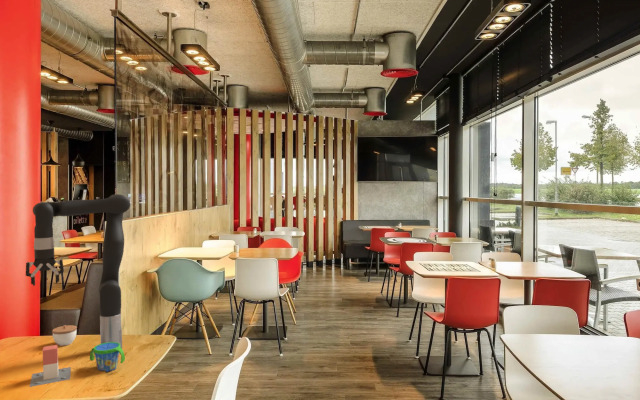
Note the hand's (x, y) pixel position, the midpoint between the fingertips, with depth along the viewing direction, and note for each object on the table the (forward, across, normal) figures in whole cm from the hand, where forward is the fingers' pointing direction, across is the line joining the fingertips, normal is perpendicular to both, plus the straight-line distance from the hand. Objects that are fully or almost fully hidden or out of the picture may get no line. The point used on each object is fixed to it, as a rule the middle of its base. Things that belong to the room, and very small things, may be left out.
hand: (45, 284), depth 198 cm
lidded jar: (+36, -6, -27) cm, 46 cm away
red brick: (+29, -2, +18) cm, 34 cm away
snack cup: (+36, -23, +19) cm, 47 cm away
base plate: (+36, -2, +18) cm, 40 cm away
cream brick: (+35, -2, +18) cm, 39 cm away
